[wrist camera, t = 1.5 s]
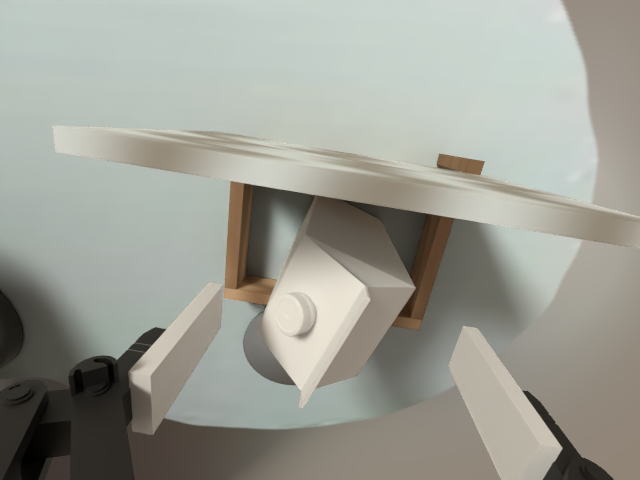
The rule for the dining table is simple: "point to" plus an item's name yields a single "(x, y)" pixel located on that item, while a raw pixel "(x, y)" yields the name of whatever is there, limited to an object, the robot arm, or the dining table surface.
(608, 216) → the cold frame
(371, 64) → the dining table surface
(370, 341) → the milk carton
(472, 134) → the dining table surface
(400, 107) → the dining table surface
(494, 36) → the dining table surface
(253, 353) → the disc
